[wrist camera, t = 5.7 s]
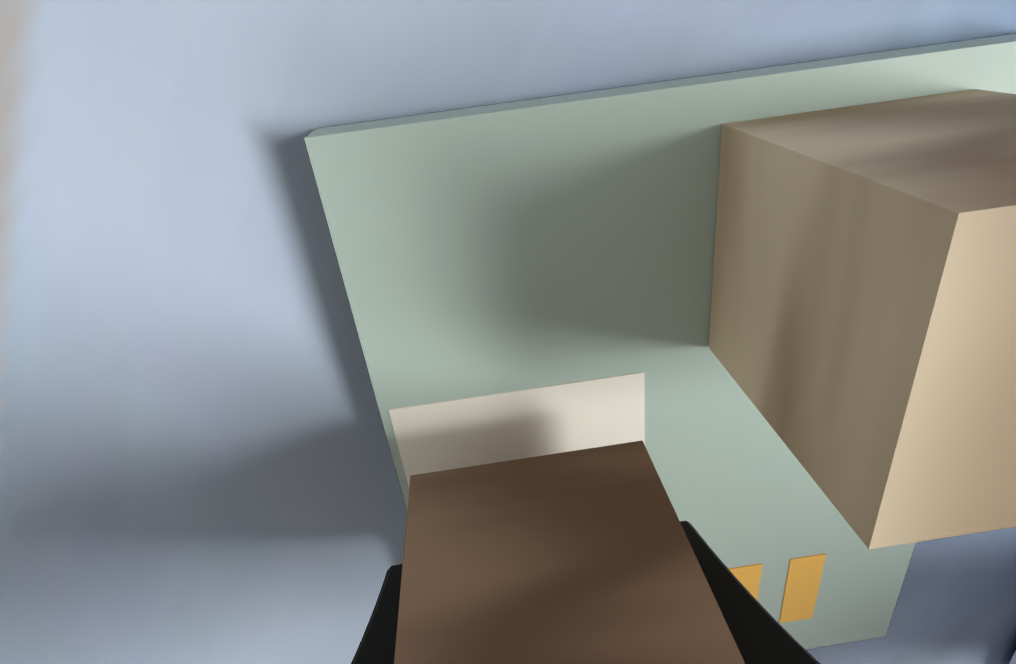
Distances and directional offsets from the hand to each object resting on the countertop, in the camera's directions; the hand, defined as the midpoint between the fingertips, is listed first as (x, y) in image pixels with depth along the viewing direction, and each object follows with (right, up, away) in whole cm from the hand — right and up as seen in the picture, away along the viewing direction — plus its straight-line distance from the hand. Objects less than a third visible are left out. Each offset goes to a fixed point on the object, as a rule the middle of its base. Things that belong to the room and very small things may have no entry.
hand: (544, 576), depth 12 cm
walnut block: (0, 0, +1) cm, 1 cm away
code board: (+3, +2, +3) cm, 5 cm away
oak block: (+6, +7, 0) cm, 9 cm away
